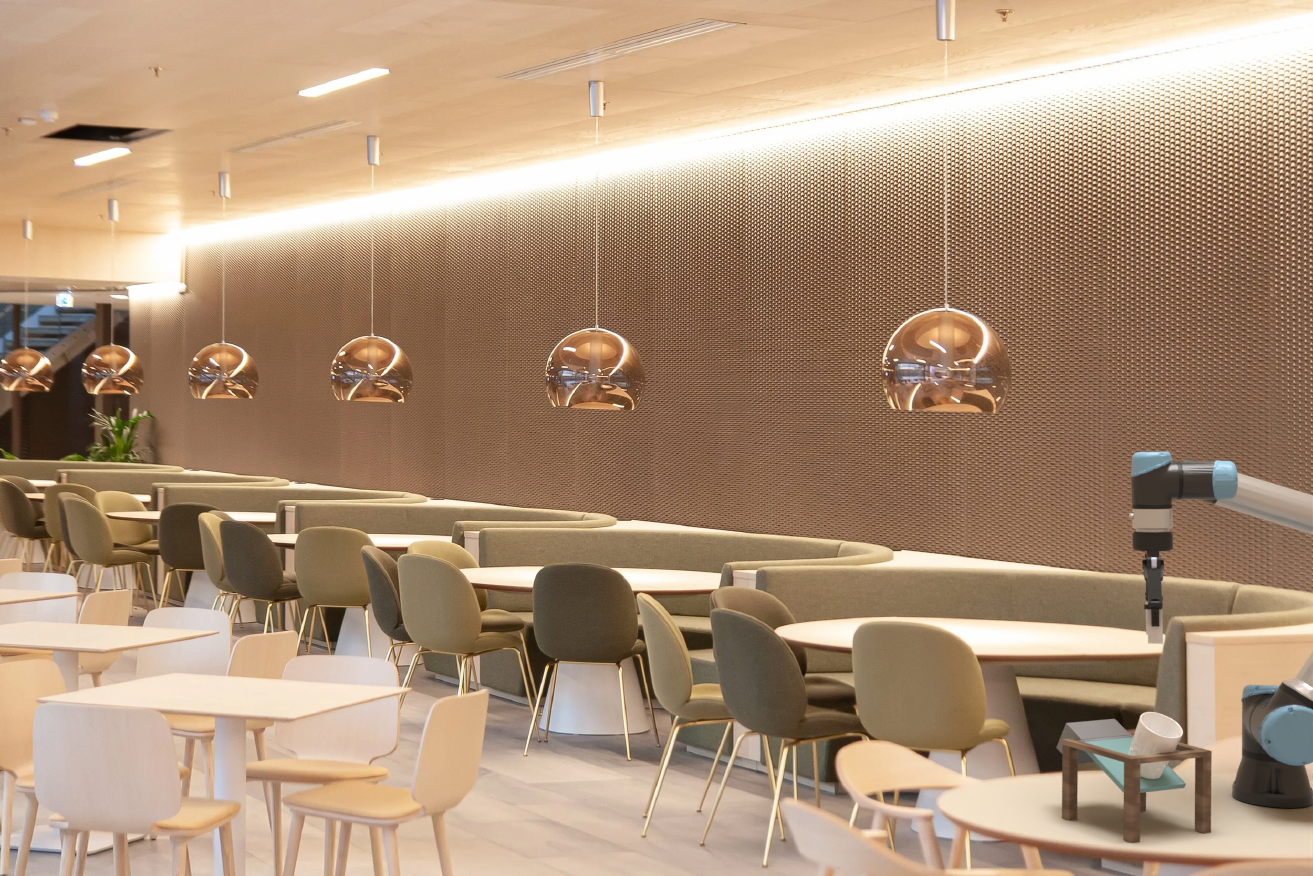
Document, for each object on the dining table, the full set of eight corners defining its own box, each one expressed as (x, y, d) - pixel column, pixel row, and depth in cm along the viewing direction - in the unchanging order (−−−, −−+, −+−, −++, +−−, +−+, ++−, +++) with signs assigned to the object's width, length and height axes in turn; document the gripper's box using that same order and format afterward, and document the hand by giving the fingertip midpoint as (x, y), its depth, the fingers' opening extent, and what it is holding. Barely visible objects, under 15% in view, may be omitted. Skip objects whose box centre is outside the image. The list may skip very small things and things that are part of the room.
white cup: (1143, 784, 270) (1161, 740, 266) (1114, 758, 276) (1131, 714, 272) (1173, 778, 274) (1192, 735, 270) (1143, 752, 280) (1161, 709, 276)
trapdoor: (1108, 742, 292) (1119, 716, 290) (1174, 811, 276) (1186, 783, 273) (1052, 748, 287) (1062, 721, 284) (1115, 818, 270) (1127, 790, 267)
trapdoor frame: (1138, 808, 288) (1139, 732, 288) (1210, 832, 271) (1211, 750, 271) (1061, 818, 280) (1062, 739, 280) (1131, 843, 263) (1131, 759, 263)
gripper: (1131, 526, 301) (1133, 630, 301) (1133, 534, 277) (1135, 646, 277) (1170, 526, 299) (1172, 631, 299) (1175, 534, 275) (1177, 647, 275)
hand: (1154, 639), depth 288 cm, fingers open, 13 cm apart
